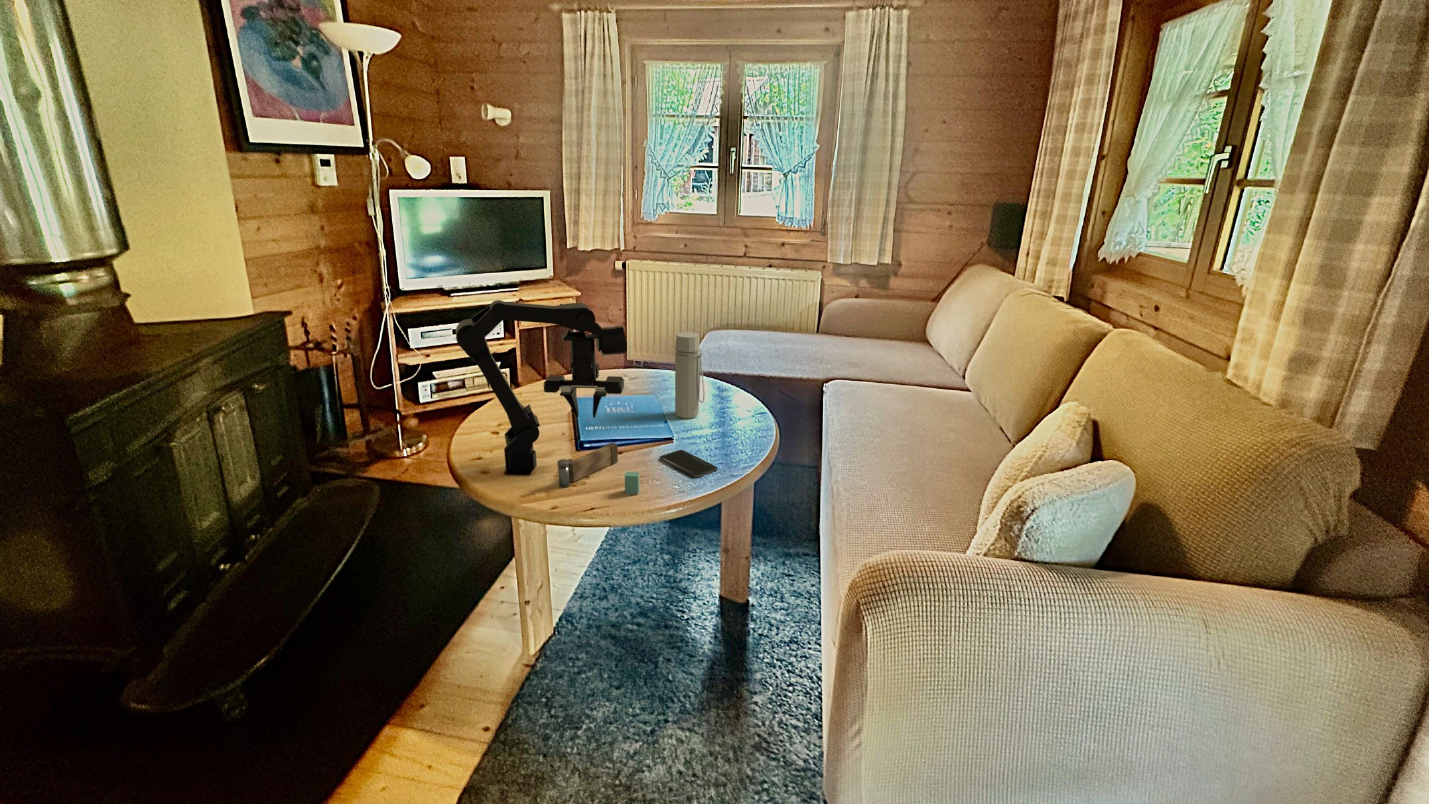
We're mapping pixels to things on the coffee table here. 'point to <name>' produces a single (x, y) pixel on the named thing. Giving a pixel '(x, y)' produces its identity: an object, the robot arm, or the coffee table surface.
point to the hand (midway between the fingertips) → (586, 417)
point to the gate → (590, 461)
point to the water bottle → (687, 375)
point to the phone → (688, 464)
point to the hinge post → (564, 477)
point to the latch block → (631, 482)
